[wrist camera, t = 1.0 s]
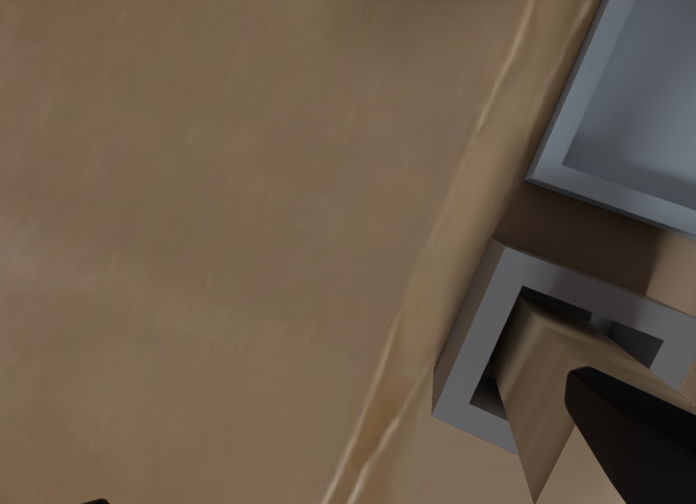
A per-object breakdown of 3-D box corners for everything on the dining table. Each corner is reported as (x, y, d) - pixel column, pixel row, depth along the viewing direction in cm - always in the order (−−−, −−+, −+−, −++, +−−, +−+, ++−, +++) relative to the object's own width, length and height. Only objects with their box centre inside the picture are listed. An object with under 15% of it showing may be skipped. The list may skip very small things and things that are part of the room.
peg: (589, 322, 18) (750, 450, 8) (558, 386, 18) (677, 573, 9) (517, 294, 18) (595, 385, 9) (488, 357, 19) (534, 505, 9)
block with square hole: (646, 295, 18) (712, 324, 13) (576, 432, 19) (616, 500, 15) (490, 237, 19) (505, 246, 15) (433, 370, 20) (431, 415, 16)
